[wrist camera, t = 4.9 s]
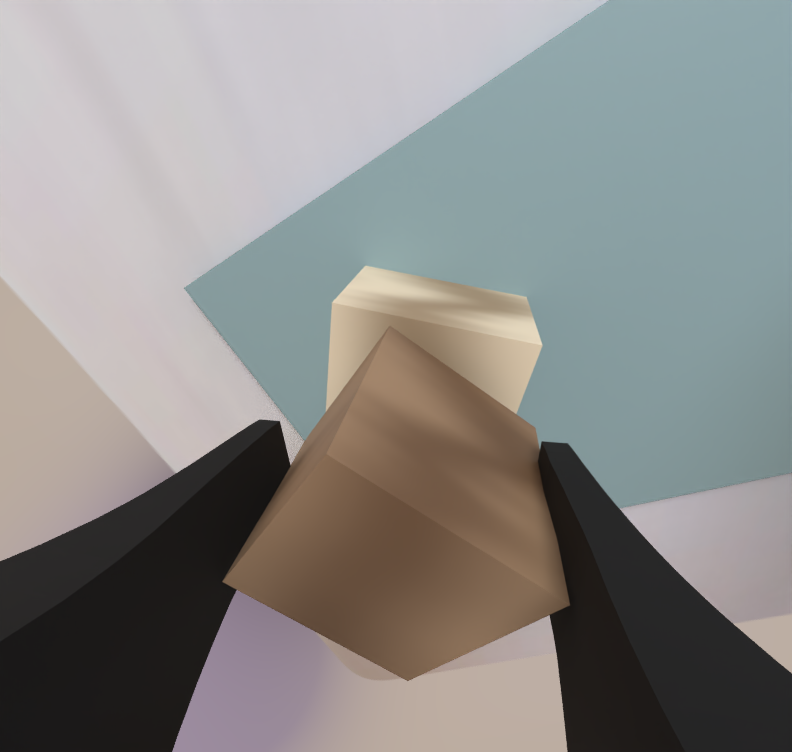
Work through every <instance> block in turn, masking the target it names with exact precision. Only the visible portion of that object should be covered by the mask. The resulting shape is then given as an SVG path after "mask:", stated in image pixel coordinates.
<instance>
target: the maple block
mask: <svg viewBox="0 0 792 752" xmlns="http://www.w3.org/2000/svg"><path fill="white" fill-rule="evenodd" d="M389 326H391V327H393V328H394V329H396V330H397V331H398V332H400V333H401V334H403V335H404V336H406V337H407V338H408V339H410V340H411V341H413V342H414V343H415V344H417V345H418V346H420V347H421V348H423V349H424V350H425V351H427V352H428V353H430V354H431V355H433V356H434V357H435V358H437V359H438V360H440V361H441V362H443V363H444V364H445V365H447V366H448V367H450V368H451V369H453V370H454V371H455V372H457V373H458V374H460V375H461V376H463V377H464V378H465V379H467V380H468V381H470V382H471V383H473V384H474V385H475V386H477V387H478V388H480V389H481V390H482V391H484V392H485V393H487V394H488V395H490V396H491V397H492V398H494V399H495V400H497V401H498V402H500V403H501V404H502V405H504V406H505V407H507V408H508V409H510V410H511V411H512V412H514V413H515V414H516V413H517V411H518V408H519V406H520V403H521V400H522V398H523V395H524V393H525V390H526V387H527V385H528V382H529V380H530V377H531V374H532V372H533V369H534V367H535V364H536V361H537V359H538V356H539V354H540V351H541V348H542V346H543V345H542V342H541V339H540V336H539V333H538V330H537V327H536V324H535V321H534V318H533V315H532V312H531V309H530V306H529V303H528V300H527V297H524V296H519V295H514V294H509V293H504V292H499V291H493V290H488V289H483V288H478V287H473V286H468V285H462V284H457V283H452V282H447V281H442V280H437V279H432V278H426V277H421V276H416V275H411V274H406V273H401V272H396V271H390V270H385V269H380V268H375V267H370V266H365V267H364V268H363V269H362V270H361V271H360V272H359V273H358V274H357V275H356V277H355V278H354V279H353V280H352V281H351V282H350V283H349V284H348V285H347V287H346V288H345V289H344V290H343V291H342V292H341V293H340V294H339V295H338V296H337V298H336V299H335V300H334V301H333V302H332V310H331V328H330V345H329V363H328V381H327V398H326V411H327V410H328V408H329V407H330V406H331V404H332V403H333V402H334V400H335V399H336V398H337V396H338V395H339V393H340V392H341V391H342V389H343V388H344V387H345V385H346V384H347V383H348V381H349V380H350V379H351V377H352V376H353V375H354V373H355V372H356V370H357V369H358V368H359V366H360V365H361V364H362V362H363V361H364V360H365V358H366V357H367V356H368V354H369V353H370V352H371V350H372V349H373V348H374V346H375V345H376V343H377V342H378V341H379V339H380V338H381V337H382V335H383V334H384V333H385V331H386V330H387V329H388V327H389Z"/></svg>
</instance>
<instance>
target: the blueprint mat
mask: <svg viewBox="0 0 792 752" xmlns="http://www.w3.org/2000/svg"><path fill="white" fill-rule="evenodd" d="M365 266H370V267H375V268H380V269H385V270H390V271H396V272H401V273H406V274H411V275H416V276H421V277H426V278H432V279H437V280H442V281H447V282H452V283H457V284H462V285H468V286H473V287H478V288H483V289H488V290H493V291H499V292H504V293H509V294H514V295H519V296H524V297H527V300H528V303H529V306H530V309H531V312H532V315H533V318H534V321H535V324H536V327H537V330H538V333H539V336H540V339H541V342H542V345H543V346H542V348H541V351H540V354H539V356H538V359H537V361H536V364H535V367H534V369H533V372H532V374H531V377H530V380H529V382H528V385H527V387H526V390H525V393H524V395H523V398H522V400H521V403H520V406H519V408H518V411H517V413H516V414H517V415H518V416H520V417H521V418H522V419H524V420H525V421H527V422H528V423H530V424H531V425H532V426H534V427H535V428H536V433H537V438H538V443H539V448H540V447H541V442H542V441H545V442H558V443H568V444H569V445H570V446H571V447H572V449H573V450H574V451H575V453H576V454H577V455H578V457H579V458H580V460H581V461H582V462H583V464H584V465H585V466H586V468H587V469H588V470H589V471H590V473H591V474H592V475H593V477H594V478H595V479H596V481H597V482H598V483H599V484H600V486H601V487H602V488H603V489H604V491H605V492H606V493H607V494H608V496H609V497H610V498H611V499H612V500H613V502H614V503H615V504H616V505H617V506H618V508H623V507H628V506H633V505H638V504H643V503H647V502H652V501H657V500H662V499H667V498H672V497H677V496H681V495H686V494H691V493H696V492H701V491H706V490H711V489H715V488H720V487H725V486H730V485H735V484H740V483H745V482H749V481H754V480H759V479H764V478H769V477H774V476H778V475H783V474H788V473H792V0H609V1H607V2H606V3H604V4H603V5H602V6H600V7H599V8H597V9H596V10H594V11H593V12H591V13H590V14H588V15H587V16H585V17H584V18H582V19H581V20H579V21H578V22H576V23H575V24H573V25H572V26H570V27H569V28H568V29H566V30H565V31H563V32H562V33H560V34H559V35H557V36H556V37H554V38H553V39H551V40H550V41H548V42H547V43H545V44H544V45H542V46H541V47H539V48H538V49H536V50H535V51H534V52H532V53H531V54H529V55H528V56H526V57H525V58H523V59H522V60H520V61H519V62H517V63H516V64H514V65H513V66H511V67H510V68H508V69H507V70H505V71H504V72H503V73H501V74H500V75H498V76H497V77H495V78H494V79H492V80H491V81H489V82H488V83H486V84H485V85H483V86H482V87H480V88H479V89H477V90H476V91H474V92H473V93H471V94H470V95H469V96H467V97H466V98H464V99H463V100H461V101H460V102H458V103H457V104H455V105H454V106H452V107H451V108H449V109H448V110H446V111H445V112H443V113H442V114H440V115H439V116H437V117H436V118H435V119H433V120H432V121H430V122H429V123H427V124H426V125H424V126H423V127H421V128H420V129H418V130H417V131H415V132H414V133H412V134H411V135H409V136H408V137H406V138H405V139H403V140H402V141H401V142H399V143H398V144H396V145H395V146H393V147H392V148H390V149H389V150H387V151H386V152H384V153H383V154H381V155H380V156H378V157H377V158H375V159H374V160H372V161H371V162H370V163H368V164H367V165H365V166H364V167H362V168H361V169H359V170H358V171H356V172H355V173H353V174H352V175H350V176H349V177H347V178H346V179H344V180H343V181H341V182H340V183H338V184H337V185H336V186H334V187H333V188H331V189H330V190H328V191H327V192H325V193H324V194H322V195H321V196H319V197H318V198H316V199H315V200H313V201H312V202H310V203H309V204H307V205H306V206H304V207H303V208H302V209H300V210H299V211H297V212H296V213H294V214H293V215H291V216H290V217H288V218H287V219H285V220H284V221H282V222H281V223H279V224H278V225H276V226H275V227H273V228H272V229H271V230H269V231H268V232H266V233H265V234H263V235H262V236H260V237H259V238H257V239H256V240H254V241H253V242H251V243H250V244H248V245H247V246H245V247H244V248H242V249H241V250H239V251H238V252H237V253H235V254H234V255H232V256H231V257H229V258H228V259H226V260H225V261H223V262H222V263H220V264H219V265H217V266H216V267H214V268H213V269H211V270H210V271H208V272H207V273H205V274H204V275H203V276H201V277H200V278H198V279H197V280H195V281H194V282H192V283H191V284H189V285H188V286H186V287H185V288H184V289H185V290H186V291H187V293H188V294H189V295H190V297H191V298H192V299H193V300H194V302H195V303H196V304H197V305H198V307H199V308H200V309H201V310H202V312H203V313H204V314H205V316H206V317H207V318H208V319H209V321H210V322H211V323H212V324H213V326H214V327H215V328H216V329H217V331H218V332H219V333H220V334H221V336H222V337H223V338H224V340H225V341H226V342H227V343H228V345H229V346H230V347H231V348H232V350H233V351H234V352H235V353H236V355H237V356H238V357H239V358H240V360H241V361H242V362H243V364H244V365H245V366H246V367H247V369H248V370H249V371H250V372H251V374H252V375H253V376H254V377H255V379H256V380H257V381H258V382H259V384H260V385H261V386H262V388H263V389H264V390H265V391H266V393H267V394H268V395H269V396H270V398H271V399H272V400H273V401H274V403H275V404H276V405H277V406H278V408H279V409H280V410H281V412H282V413H283V414H284V415H285V417H286V418H287V419H288V420H289V422H290V423H291V424H292V425H293V427H294V428H295V429H296V430H297V432H298V433H299V434H300V436H301V437H302V438H303V439H304V441H305V440H306V438H307V437H308V435H309V434H310V433H311V431H312V430H313V429H314V427H315V426H316V425H317V423H318V422H319V420H320V419H321V418H322V416H323V415H324V414H325V412H326V398H327V381H328V363H329V345H330V328H331V310H332V302H333V301H334V300H335V299H336V298H337V296H338V295H339V294H340V293H341V292H342V291H343V290H344V289H345V288H346V287H347V285H348V284H349V283H350V282H351V281H352V280H353V279H354V278H355V277H356V275H357V274H358V273H359V272H360V271H361V270H362V269H363V268H364V267H365Z"/></svg>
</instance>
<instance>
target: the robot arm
mask: <svg viewBox="0 0 792 752" xmlns="http://www.w3.org/2000/svg"><path fill="white" fill-rule="evenodd" d="M538 464H539V470H540V475H541V480H542V485H543V490H544V494H545V498H546V501H547V505H548V509H549V512H550V516H551V519H552V523H553V526H554V530H555V533H556V537H557V541H558V546H559V551H560V556H561V561H562V566H563V571H564V577H565V582H566V587H567V592H568V597H569V602H570V606H567V607H565V608H563V609H561V610H559V611H557V612H555V613H552V614H550V620H551V625H552V629H553V634H554V640H555V646H556V652H557V659H558V668H559V677H560V685H561V694H562V703H563V712H564V721H565V731H566V741H567V750H568V752H792V674H791V673H790V672H789V671H788V670H787V669H785V668H784V667H783V666H782V665H781V664H779V663H778V662H777V661H776V660H774V659H773V658H772V657H771V656H770V655H769V654H768V653H766V652H765V651H764V650H763V649H762V648H761V647H759V646H758V645H757V644H756V643H755V642H754V641H752V640H751V639H750V638H749V637H748V636H747V635H745V634H744V633H743V632H742V631H741V630H740V629H738V628H737V627H736V626H735V625H734V624H733V623H731V622H730V621H729V620H728V619H727V618H726V617H725V616H724V615H722V614H721V613H720V612H719V611H718V610H717V609H716V608H715V607H714V606H712V605H711V604H710V603H709V602H708V601H707V600H706V599H705V598H704V597H703V596H702V595H701V594H700V593H699V592H698V591H697V590H695V589H694V588H693V587H692V586H691V585H690V584H689V583H688V582H687V581H686V580H685V579H684V578H683V577H682V576H681V575H680V574H679V573H678V572H677V571H676V570H675V569H674V568H673V567H672V566H671V565H670V564H669V563H668V562H667V561H666V560H665V559H664V558H663V557H662V556H661V555H660V554H659V553H658V552H657V551H656V549H655V548H654V547H653V546H652V545H651V544H650V543H649V542H648V541H647V540H646V539H645V538H644V536H643V535H642V534H641V533H640V532H639V531H638V530H637V529H636V527H635V526H634V525H633V524H632V523H631V522H630V521H629V520H628V518H627V517H626V516H625V515H624V514H623V512H622V511H621V510H620V509H619V508H618V506H617V505H616V504H615V503H614V502H613V500H612V499H611V498H610V497H609V496H608V494H607V493H606V492H605V491H604V489H603V488H602V487H601V486H600V484H599V483H598V482H597V481H596V479H595V478H594V477H593V475H592V474H591V473H590V471H589V470H588V469H587V468H586V466H585V465H584V464H583V462H582V461H581V460H580V458H579V457H578V455H577V454H576V453H575V451H574V450H573V449H572V447H571V446H570V445H569V444H568V443H558V442H545V441H542V442H541V447H540V452H539V458H538ZM290 467H291V466H290V462H289V458H288V453H287V449H286V445H285V441H284V437H283V433H282V428H281V424H280V421H271V420H258V421H256V422H255V423H253V424H251V425H250V426H248V427H247V428H245V429H243V430H242V431H240V432H239V433H237V434H236V435H234V436H233V437H231V438H230V439H228V440H227V441H225V442H224V443H222V444H221V445H219V446H218V447H216V448H215V449H213V450H212V451H210V452H209V453H207V454H206V455H204V456H203V457H201V458H200V459H198V460H197V461H195V462H194V463H192V464H191V465H189V466H188V467H186V468H184V469H183V470H181V471H179V472H178V473H176V474H175V475H173V476H171V477H170V478H168V479H166V480H165V481H163V482H162V483H160V484H158V485H157V486H155V487H154V488H152V489H150V490H149V491H147V492H145V493H144V494H142V495H140V496H138V497H136V498H134V499H133V500H131V501H129V502H127V503H125V504H123V505H121V506H120V507H118V508H116V509H114V510H112V511H110V512H108V513H106V514H104V515H103V516H100V517H99V518H97V519H94V520H92V521H91V522H88V523H86V524H84V525H82V526H80V527H77V528H75V529H74V530H71V531H69V532H67V533H65V534H62V535H60V536H58V537H56V538H54V539H52V540H49V541H47V542H45V543H43V544H41V545H38V546H36V547H34V548H31V549H29V550H27V551H24V552H22V553H19V554H17V555H15V556H12V557H10V558H7V559H5V560H2V561H0V752H172V750H173V748H174V745H175V742H176V739H177V736H178V733H179V730H180V728H181V725H182V722H183V720H184V717H185V714H186V711H187V709H188V706H189V703H190V701H191V698H192V695H193V692H194V690H195V687H196V684H197V682H198V679H199V677H200V674H201V672H202V669H203V667H204V664H205V662H206V659H207V657H208V654H209V652H210V649H211V647H212V644H213V642H214V640H215V637H216V635H217V632H218V630H219V628H220V626H221V623H222V621H223V619H224V616H225V614H226V612H227V609H228V607H229V605H230V602H231V600H232V598H233V596H234V594H235V592H236V590H237V589H235V588H233V587H231V586H229V585H227V584H225V583H223V582H222V581H223V580H224V578H225V576H226V575H227V573H228V571H229V569H230V568H231V566H232V564H233V563H234V561H235V559H236V558H237V556H238V554H239V552H240V551H241V549H242V547H243V546H244V544H245V542H246V541H247V539H248V537H249V536H250V534H251V532H252V531H253V529H254V527H255V526H256V524H257V522H258V521H259V519H260V517H261V516H262V514H263V512H264V511H265V509H266V507H267V506H268V504H269V502H270V501H271V499H272V497H273V496H274V494H275V492H276V491H277V489H278V487H279V485H280V484H281V482H282V480H283V479H284V477H285V475H286V474H287V472H288V470H289V468H290Z"/></svg>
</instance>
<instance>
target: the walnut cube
mask: <svg viewBox="0 0 792 752" xmlns="http://www.w3.org/2000/svg"><path fill="white" fill-rule="evenodd" d="M539 452H540V448H539V443H538V438H537V433H536V428H535V427H534V426H532V425H531V424H530V423H528V422H527V421H525V420H524V419H522V418H521V417H520V416H518V415H517V414H515V413H514V412H512V411H511V410H510V409H508V408H507V407H505V406H504V405H502V404H501V403H500V402H498V401H497V400H495V399H494V398H492V397H491V396H490V395H488V394H487V393H485V392H484V391H482V390H481V389H480V388H478V387H477V386H475V385H474V384H473V383H471V382H470V381H468V380H467V379H465V378H464V377H463V376H461V375H460V374H458V373H457V372H455V371H454V370H453V369H451V368H450V367H448V366H447V365H445V364H444V363H443V362H441V361H440V360H438V359H437V358H435V357H434V356H433V355H431V354H430V353H428V352H427V351H425V350H424V349H423V348H421V347H420V346H418V345H417V344H415V343H414V342H413V341H411V340H410V339H408V338H407V337H406V336H404V335H403V334H401V333H400V332H398V331H397V330H396V329H394V328H393V327H391V326H389V327H388V329H387V330H386V331H385V333H384V334H383V335H382V337H381V338H380V339H379V341H378V342H377V343H376V345H375V346H374V348H373V349H372V350H371V352H370V353H369V354H368V356H367V357H366V358H365V360H364V361H363V362H362V364H361V365H360V366H359V368H358V369H357V370H356V372H355V373H354V375H353V376H352V377H351V379H350V380H349V381H348V383H347V384H346V385H345V387H344V388H343V389H342V391H341V392H340V393H339V395H338V396H337V398H336V399H335V400H334V402H333V403H332V404H331V406H330V407H329V408H328V410H327V411H326V412H325V414H324V415H323V416H322V418H321V419H320V420H319V422H318V423H317V425H316V426H315V427H314V429H313V430H312V431H311V433H310V434H309V435H308V437H307V438H306V440H305V442H304V443H303V445H302V447H301V449H300V450H299V452H298V454H297V455H296V457H295V459H294V461H293V462H292V464H291V467H290V468H289V470H288V472H287V474H286V475H285V477H284V479H283V480H282V482H281V484H280V485H279V487H278V489H277V491H276V492H275V494H274V496H273V497H272V499H271V501H270V502H269V504H268V506H267V507H266V509H265V511H264V512H263V514H262V516H261V517H260V519H259V521H258V522H257V524H256V526H255V527H254V529H253V531H252V532H251V534H250V536H249V537H248V539H247V541H246V542H245V544H244V546H243V547H242V549H241V551H240V552H239V554H238V556H237V558H236V559H235V561H234V563H233V564H232V566H231V568H230V569H229V571H228V573H227V575H226V576H225V578H224V580H223V581H222V582H223V583H225V584H227V585H229V586H231V587H233V588H235V589H237V590H238V591H240V592H242V593H244V594H246V595H248V596H250V597H252V598H254V599H255V600H257V601H259V602H261V603H263V604H265V605H267V606H268V607H271V608H272V609H274V610H276V611H278V612H280V613H282V614H283V615H285V616H287V617H289V618H291V619H293V620H295V621H297V622H298V623H300V624H302V625H304V626H306V627H308V628H310V629H312V630H313V631H315V632H317V633H319V634H321V635H323V636H325V637H326V638H328V639H330V640H332V641H334V642H336V643H338V644H340V645H341V646H343V647H345V648H347V649H349V650H351V651H353V652H355V653H356V654H358V655H360V656H362V657H364V658H366V659H368V660H370V661H371V662H373V663H375V664H377V665H379V666H381V667H383V668H385V669H386V670H388V671H390V672H392V673H394V674H396V675H398V676H400V677H401V678H403V679H405V680H407V681H409V680H411V679H413V678H415V677H417V676H419V675H422V674H424V673H426V672H428V671H430V670H432V669H434V668H437V667H439V666H441V665H443V664H445V663H447V662H449V661H452V660H454V659H456V658H458V657H460V656H462V655H464V654H467V653H469V652H471V651H473V650H475V649H477V648H479V647H482V646H484V645H486V644H488V643H490V642H492V641H494V640H497V639H499V638H501V637H503V636H505V635H507V634H510V633H512V632H514V631H516V630H518V629H520V628H522V627H525V626H527V625H529V624H531V623H533V622H535V621H537V620H540V619H542V618H544V617H546V616H548V615H550V614H552V613H555V612H557V611H559V610H561V609H563V608H565V607H567V606H570V602H569V597H568V592H567V587H566V582H565V577H564V571H563V566H562V561H561V556H560V551H559V546H558V541H557V537H556V533H555V530H554V526H553V523H552V519H551V516H550V512H549V509H548V505H547V501H546V498H545V494H544V490H543V485H542V480H541V475H540V470H539V464H538V458H539Z"/></svg>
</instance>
